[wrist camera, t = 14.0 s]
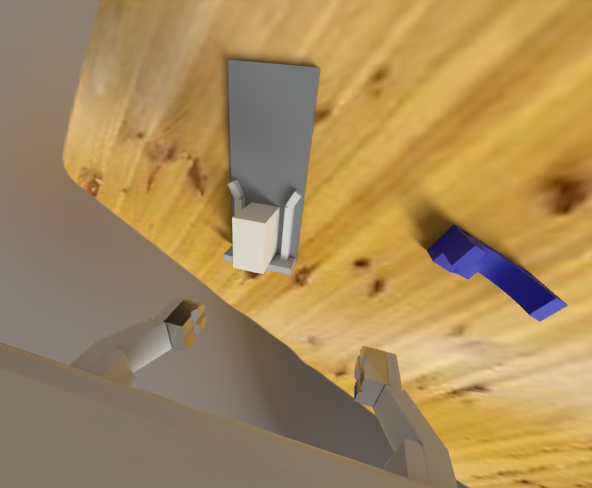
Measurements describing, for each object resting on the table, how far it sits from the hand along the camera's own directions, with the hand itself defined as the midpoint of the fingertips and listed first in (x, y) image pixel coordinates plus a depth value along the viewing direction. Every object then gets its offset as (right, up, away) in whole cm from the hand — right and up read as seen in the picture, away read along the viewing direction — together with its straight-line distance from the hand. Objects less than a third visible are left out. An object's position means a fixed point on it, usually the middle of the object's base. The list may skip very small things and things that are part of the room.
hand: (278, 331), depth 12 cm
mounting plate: (-3, +13, +20) cm, 24 cm away
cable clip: (+25, +2, +19) cm, 31 cm away
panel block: (-4, +7, +22) cm, 23 cm away
